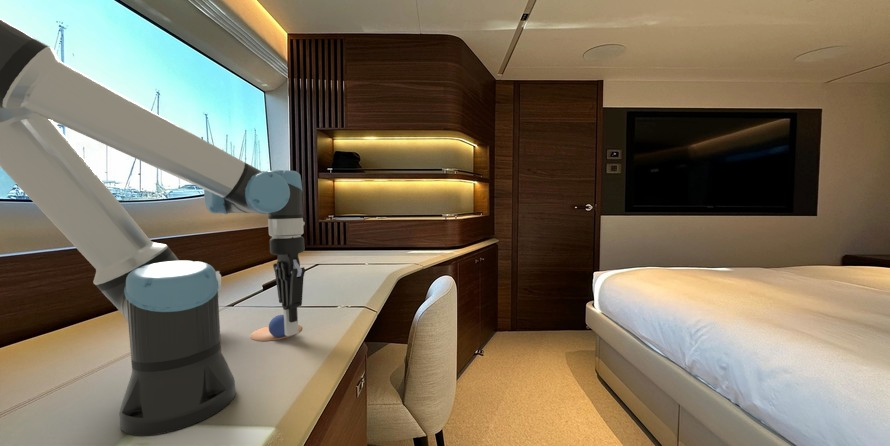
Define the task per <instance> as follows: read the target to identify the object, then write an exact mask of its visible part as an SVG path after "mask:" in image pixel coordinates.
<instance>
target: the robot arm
mask: <svg viewBox="0 0 890 446" xmlns="http://www.w3.org/2000/svg"><path fill="white" fill-rule="evenodd" d="M56 123H57V124H59V125H61V126H64V127H65V128H68V129H70V130H72V131H75V132H77V133H79V134H81V135H83V136H86V137H87V138H91V139H92V140H94V141H96V142H98V143H101V144H103V145H106V146H107V147H110V148H111V149H114V150H116V151H119V152H121V153H123V154H125V155H128V156H130V157H131V158H135V159H136V160H139V161H140V162H143V163H146V164H147V165H150V166H152V167H154V168H155V169H159V170H160V171H163V172H165V173H168V174H169V175H172V176H174V177H176V178H178V179H179V180H183V181H185V182H187V183H189V184H192V185H194V186H196V187H199V188H200V189H203V191H204V192H203V194H204V195H203V196H204V197H203V198H204V202H205V203H204V205H205V206H206V209H207V210H208V212H210V213H211V214H225V215H228V214H261V215H267V216H268V217H267V222H268V235H269V236H270V239H269V253H270V254H271V255H276V256H277V258H276V259H277V262H276V263H273V264H272V266H273V270H274V274H275V283H276V288H277V289H276V290H277V297H278V303H279V304H281V306H282V309H283V315H284V330H285V335H286V336H290V335H293V336H295V335H297V334H299V333H300V332H298V325H299V313H298V308H299V307H301V306H302V305H303V292H304V291H303V290H304V277H305V273H306V268H305V266H304V267H303V266H302V267H301V262H300V258H299V254H300V253H303V252H304V251H305V249H306V247H305V238H304V236H302V235H303V234H304V226H305V221H304V218H303V217H304V213H303V191H304V190H303V186H302V185H303V184H302V177H301V174H300V173H299V172H297V171H296V170H289V169H287V170H285V169H284V170H280V169H275V170H268V171H267V170H266V171H265V170H260V169H258V168H256V167H255V166H253V165H250V164H249V163H247V162H245V161H243V160H241V159H239V158H238V157H236V156H234V155H233V154H230V153H228V152H226V151H225V150H223V149H221V148H220V147H218V146H216V145H214V144H212V143H210V142H208V141H206V140H205V139H203V138H201V137H199V136H197V135H196V134H194V133H192V132H189V131H188V130H186V129H185V128H183V127H181V126H179V125H177V124H175V123H173V122H172V121H171V120H168V119H167V118H164V117H162V116H161V115H158V114H157V113H155V112H153V111H151V110H150V109H148V108H147V107H144V106H143V105H141V104H139V103H138V102H135V101H133V100H131V99H130V98H128V97H127V96H124V95H123V94H121V93H119V92H117V91H115V90H114V89H111V88H110V87H108V86H106V85H104V84H102V83H101V82H98V81H97V80H95V79H93V78H91V77H89V76H88V75H86V74H84V73H82V72H81V71H79V70H77V69H75V68H73V67H71V66H69V65H68V64H67V63H64V62H62V61H61V60H60V59H59V57H58V55H57V53H56V51H55V49H54V48H52V47H51V46H49V45H48V44H46V43H44V42H42V41H40V40H38V39H36V38H35V37H33V36H31V35H29V34H28V33H26V32H24V31H22V30H20V29H19V28H17V27H16V26H15V25H14V26H13V24H10V23H8V22H7V21H5V20H3V19H2V18H0V168H1V169H2V170H3V171H4V172H5V174H6V175H8V177H9V178H10V179H11V180H12V181H13V182H14V183H15V184H16V185H17V186H18V188H19V189H20V190H22V191H23V193H24V194H25V195H26V196H27V197H28V198H29V199H30V201H32V202H33V204H34V205H35V206H36V207H37V208H38V209H39V210H40V211H41V212H42V214H44V215H45V216H46V217H47V218H48V219H49V220H50V221H51V223H52V224H53V225H54V226H55V227H56V228H57V229H58V230H59V231H60V232H61V233H62V234H63V236H65V238H66V239H67V240H68V241H69V242H70V243H71V244H72V245H73V246H74V247H75V248H76V249H77V251H78V252H79V253H80V254H81V255H82V256H83V257H84V258H85V259H86V260H87V262H89V264H91V266H92V267H93V268H94V269H95V274H94V277H93V278H94V279H93V281H92V282H93V283H92V284H93V285H95V286H96V288H97V289H98V290H99V291H100V292H101V293H102V294H103V295H104V296H105V297H106V298H107V300H108V301H110V303H112V304H113V306H114V307H116V309H117V310H118V311H119V312H120V313H121V314H122V316H124V318H125V320H126V322H127V325H128V334H129V336H128V337H129V345H130V346H129V347H130V350H129V351H130V359H131V375H130V377H129V379H128V380H129V381H128V384H127V387H126V390H125V393H124V396H123V399H122V402H121V404H120V405H121V406H120V408H119V425H120V429H121V431H123V432H124V433H126V434H129V435H132V436H133V435H134V436H152V435H158V434H159V435H160V434H165V433H169V432H173V431H177V430H180V429H181V430H182V429H185V428H187V427H189V426H193V425H195V424H197V423H199V422H201V421H203V420H206V419H208V418H210V417H212V416H214V415H215V414H217V413H219V412H220V411H221V410H223V409H224V408H225V407H227V406H228V405H229V404H230V403H231V402H232V400H234V398H235V396H236V380H235V377H234V375H233V372H232V371H231V368H230V367H229V365H228V362H227V360H226V358H225V356H224V354H223V353H222V351H223V350H222V345H221V326H220V325H221V324H220V321H221V320H220V307H219V305H220V304H219V298H218V288H219V284H218V280H217V277H216V271H217V270H215V268H214V267H213V266H212V265H211V264H210V263H209V264H208V263H207V262H203V261H199V260H198V261H193V260H180V259H179V258H178V257H177V255H176V254H175V253H174V252H173V251H172V249H171V248H170V247H169V246H168V245H167V244H165V243H159V242H154V241H152V240H151V239H150V238H149V237H148V236H147V235H146V233H145V232H144V230H142V228H141V227H140V226H139V224H138V223H137V222H136V221H135V219H133V217H132V216H131V215H130V214H129V213H128V211H127V210H126V209H125V207H124V206H123V205H122V204H121V202H120V201H119V200H118V199H117V198H116V197H115V195H114V194H113V192H111V190H110V189H109V188H108V187H107V186H106V184H105V183H104V182H103V181H102V179H100V177H99V175H98V174H97V173H96V172H95V171H94V170H93V169H92V167H91V166H90V165H89V164H88V162H87V161H86V160H85V159H84V157H83V156H82V155H81V154H80V153H79V151H78V150H77V149H76V148H75V147H74V145H73V144H72V143H71V141H70V140H69V139H68V138H67V137H66V135H65V134H64V133H63V132H62V131H61V130H60V128H59V127H58V126H57V124H56ZM294 334H295V335H294ZM290 337H291V336H290Z"/></svg>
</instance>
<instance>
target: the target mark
mask: <svg viewBox="0 0 890 446" xmlns="http://www.w3.org/2000/svg"><path fill="white" fill-rule="evenodd" d="M301 331H302V325H300V324H298V332H299V333H300V332H301ZM295 335H296V334H294V335H290V336H285V337H281V338H278V337H274V336H273V335H271V333H270V332H269V325H268V326H264V327H261V328H259V329H256V330H254V331H253V332H251V334H250V339H251V340H253V341H256V342H257V341H258V342H270V341H279V340H283V339H287V338H290V337H292V336H295Z"/></svg>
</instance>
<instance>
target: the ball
mask: <svg viewBox="0 0 890 446" xmlns="http://www.w3.org/2000/svg"><path fill="white" fill-rule="evenodd" d="M268 326H269V332H270V333H271V335H273V336H274V337H278V338H281V337H285V336H286V335H285V330H284V314H278V315H275V316H274V317H272V319H271V320H270V321H269V322H268Z"/></svg>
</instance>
